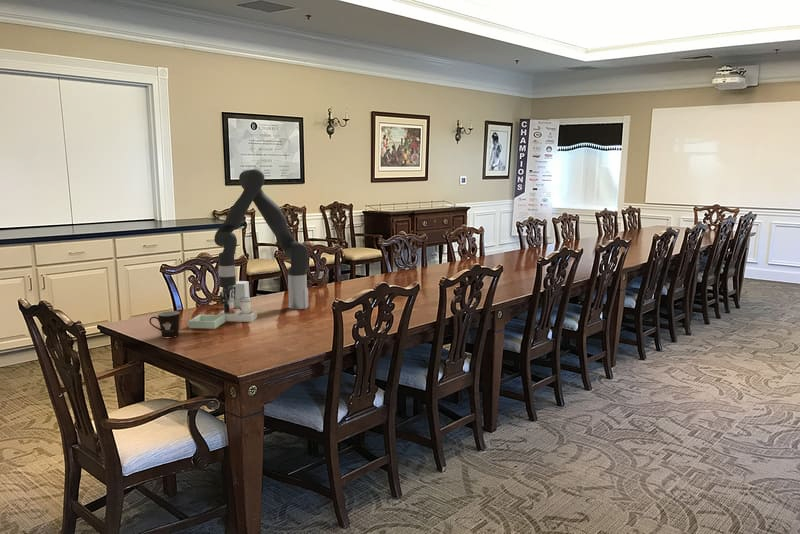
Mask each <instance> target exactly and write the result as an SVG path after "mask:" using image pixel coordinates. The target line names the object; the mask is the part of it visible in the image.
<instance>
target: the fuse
mask: <svg viewBox="0 0 800 534" xmlns="http://www.w3.org/2000/svg"><path fill="white" fill-rule="evenodd" d="M251 302H252V301H251V297H250V296H249V297H242V298H240V304H241V308H240V311H241V314H242V315H250V314H251V311H252V310H251Z"/></svg>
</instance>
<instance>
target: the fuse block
mask: <svg viewBox="0 0 800 534" xmlns="http://www.w3.org/2000/svg"><path fill="white" fill-rule="evenodd" d="M216 315H225V322H240V323H241V322H245V323H247V322H248V323H249V322H250V323H251V322H253V321H255V320H256V319H257V318H258V311H257V310H251V314H250V315H242V314H241V310H234V314H224V310H222V311H221V312H218V314H216Z"/></svg>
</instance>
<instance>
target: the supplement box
mask: <svg viewBox="0 0 800 534" xmlns="http://www.w3.org/2000/svg"><path fill="white" fill-rule="evenodd" d="M249 282H250V281H247V280H246V281H245V280H236V284H235V285H233V287H236V292H235V300H234V302H233V303H234V309H236V308H237V309H241V304H240V298H242V297H250V284H249Z"/></svg>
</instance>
